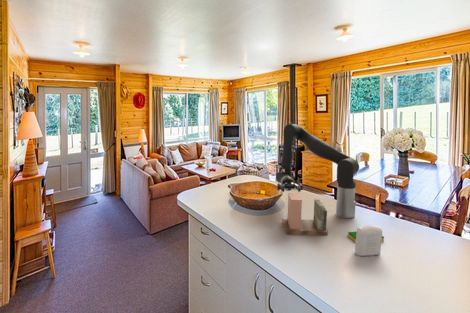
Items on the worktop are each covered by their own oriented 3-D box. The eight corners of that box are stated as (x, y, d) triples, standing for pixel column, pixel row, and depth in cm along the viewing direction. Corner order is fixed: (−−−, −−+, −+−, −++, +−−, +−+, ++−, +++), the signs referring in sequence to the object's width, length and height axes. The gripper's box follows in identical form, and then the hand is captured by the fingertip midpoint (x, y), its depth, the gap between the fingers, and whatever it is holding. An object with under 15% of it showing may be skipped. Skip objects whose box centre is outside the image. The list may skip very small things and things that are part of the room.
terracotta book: (296, 220, 139) (297, 193, 137) (300, 229, 128) (301, 199, 126) (287, 220, 139) (288, 193, 137) (290, 228, 128) (291, 199, 126)
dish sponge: (384, 242, 120) (384, 237, 120) (355, 243, 119) (356, 238, 118) (374, 235, 127) (374, 230, 127) (347, 236, 126) (347, 231, 125)
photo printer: (375, 250, 112) (377, 222, 110) (382, 255, 108) (384, 227, 106) (353, 251, 111) (355, 224, 109) (359, 257, 107) (361, 228, 105)
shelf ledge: (319, 223, 140) (321, 198, 137) (327, 235, 126) (329, 207, 124) (282, 222, 141) (283, 197, 139) (285, 234, 127) (286, 206, 125)
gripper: (275, 177, 160) (278, 183, 144) (299, 176, 159) (304, 183, 143) (275, 189, 161) (278, 196, 145) (299, 188, 160) (304, 196, 144)
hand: (291, 190), depth 144 cm, fingers open, 8 cm apart
